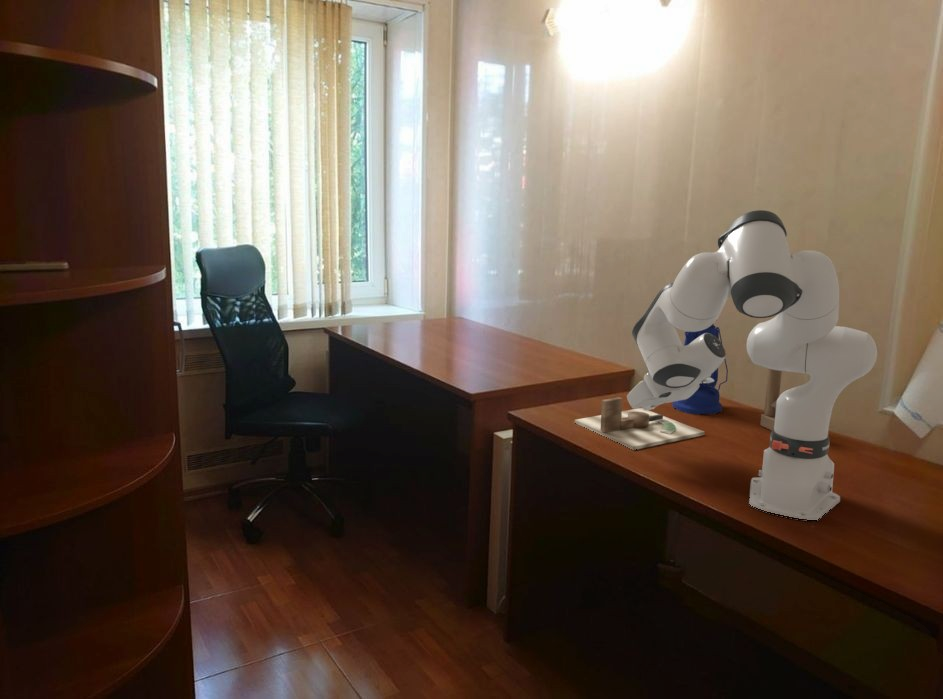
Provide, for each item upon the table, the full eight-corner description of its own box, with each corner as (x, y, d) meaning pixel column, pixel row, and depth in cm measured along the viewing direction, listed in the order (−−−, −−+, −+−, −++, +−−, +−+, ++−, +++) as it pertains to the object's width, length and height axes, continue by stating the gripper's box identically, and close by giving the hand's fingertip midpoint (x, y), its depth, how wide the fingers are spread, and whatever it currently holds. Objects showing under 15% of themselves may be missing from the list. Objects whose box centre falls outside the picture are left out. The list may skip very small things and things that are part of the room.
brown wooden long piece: (609, 434, 197) (610, 403, 195) (595, 428, 202) (596, 398, 200) (668, 422, 207) (670, 393, 206) (654, 417, 213) (656, 388, 211)
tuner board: (633, 450, 189) (633, 445, 189) (574, 423, 211) (574, 418, 211) (704, 435, 201) (704, 430, 201) (641, 410, 223) (641, 406, 223)
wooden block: (784, 437, 199) (791, 375, 195) (759, 425, 209) (765, 366, 206) (795, 436, 200) (802, 374, 196) (770, 424, 210) (775, 365, 207)
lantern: (695, 398, 238) (702, 309, 231) (734, 409, 225) (742, 316, 219) (660, 406, 229) (665, 314, 222) (698, 418, 216) (705, 321, 210)
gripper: (700, 365, 184) (670, 392, 195) (641, 374, 174) (612, 402, 185) (712, 385, 181) (681, 412, 192) (653, 396, 171) (623, 423, 182)
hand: (647, 407), depth 188 cm, fingers closed
